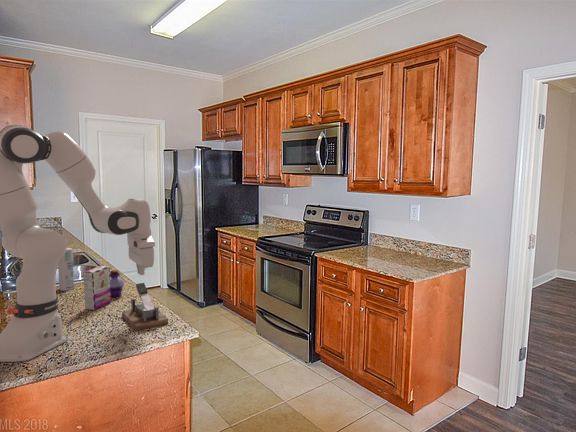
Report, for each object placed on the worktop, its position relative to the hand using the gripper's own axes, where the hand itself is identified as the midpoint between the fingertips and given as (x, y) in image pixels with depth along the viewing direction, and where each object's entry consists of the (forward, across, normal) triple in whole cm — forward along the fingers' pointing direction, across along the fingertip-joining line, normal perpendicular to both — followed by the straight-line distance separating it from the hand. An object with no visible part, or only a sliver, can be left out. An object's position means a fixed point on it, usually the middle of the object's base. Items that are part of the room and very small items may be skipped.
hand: (141, 274), depth 154 cm
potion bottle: (+18, -35, -2) cm, 39 cm away
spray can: (+18, -60, -18) cm, 65 cm away
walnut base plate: (+17, +4, -1) cm, 18 cm away
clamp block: (+15, +4, -1) cm, 16 cm away
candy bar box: (+18, -24, -11) cm, 32 cm away
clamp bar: (+8, +5, 0) cm, 10 cm away
